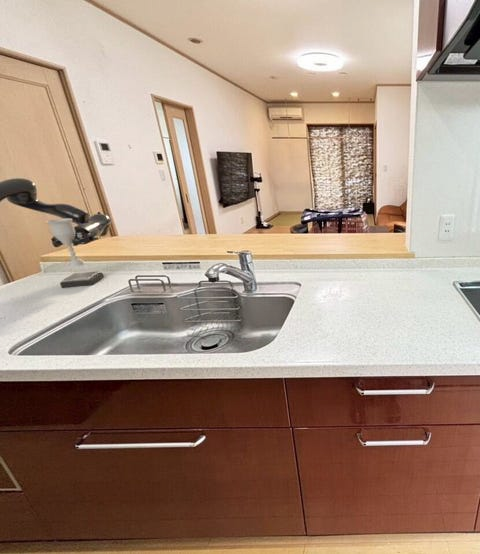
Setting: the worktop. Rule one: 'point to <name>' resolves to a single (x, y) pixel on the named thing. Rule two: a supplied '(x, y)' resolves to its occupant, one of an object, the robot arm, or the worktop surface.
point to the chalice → (65, 237)
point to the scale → (82, 279)
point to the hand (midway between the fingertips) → (64, 244)
